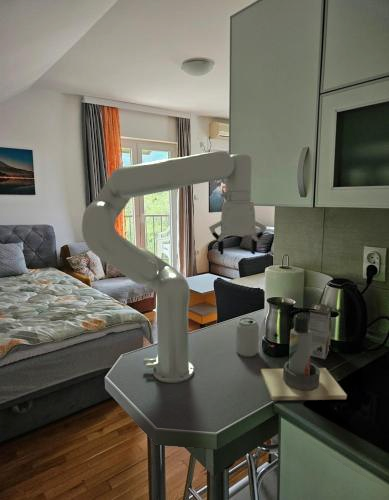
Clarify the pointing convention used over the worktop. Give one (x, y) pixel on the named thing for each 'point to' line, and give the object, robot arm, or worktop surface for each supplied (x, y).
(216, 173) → the robot arm
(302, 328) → the lotion bottle
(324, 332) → the coffee box
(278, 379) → the bottle holder
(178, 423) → the worktop surface
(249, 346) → the can
